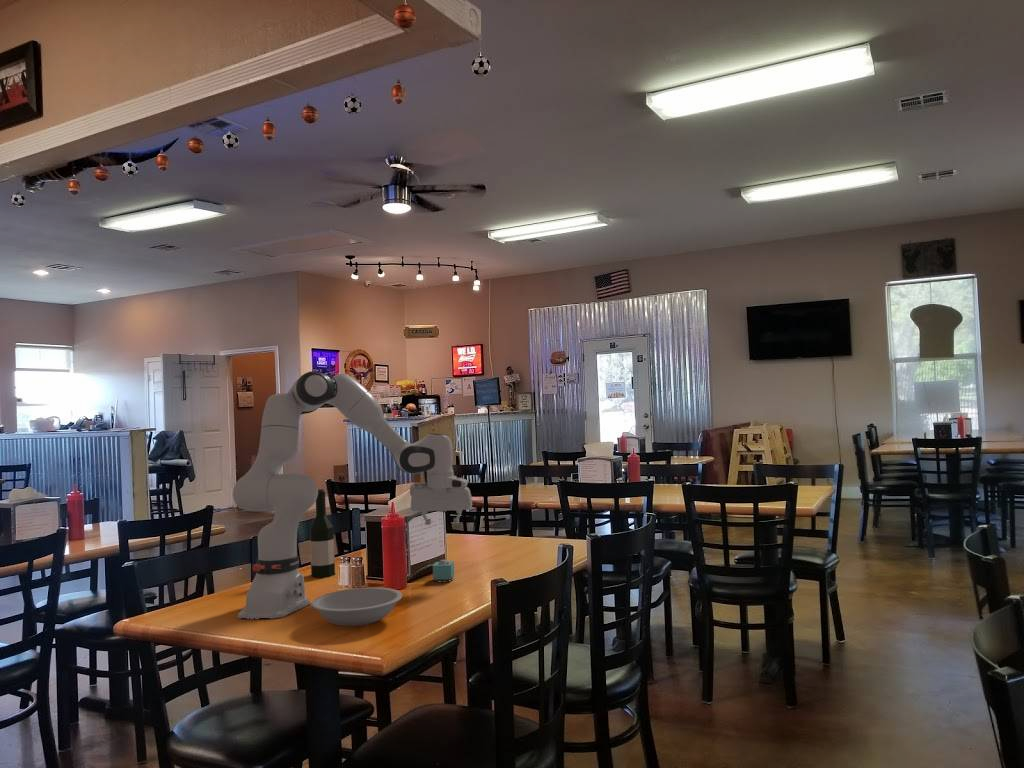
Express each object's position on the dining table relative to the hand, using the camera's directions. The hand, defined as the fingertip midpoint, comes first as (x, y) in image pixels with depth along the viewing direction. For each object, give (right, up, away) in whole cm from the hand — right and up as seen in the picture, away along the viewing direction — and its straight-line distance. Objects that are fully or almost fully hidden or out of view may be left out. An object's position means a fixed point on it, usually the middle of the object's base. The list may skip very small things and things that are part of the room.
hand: (442, 524), depth 248 cm
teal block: (+1, -17, 0) cm, 17 cm away
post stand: (+1, -18, 0) cm, 18 cm away
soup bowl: (-18, -18, -46) cm, 52 cm away
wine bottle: (-43, -21, +16) cm, 51 cm away
